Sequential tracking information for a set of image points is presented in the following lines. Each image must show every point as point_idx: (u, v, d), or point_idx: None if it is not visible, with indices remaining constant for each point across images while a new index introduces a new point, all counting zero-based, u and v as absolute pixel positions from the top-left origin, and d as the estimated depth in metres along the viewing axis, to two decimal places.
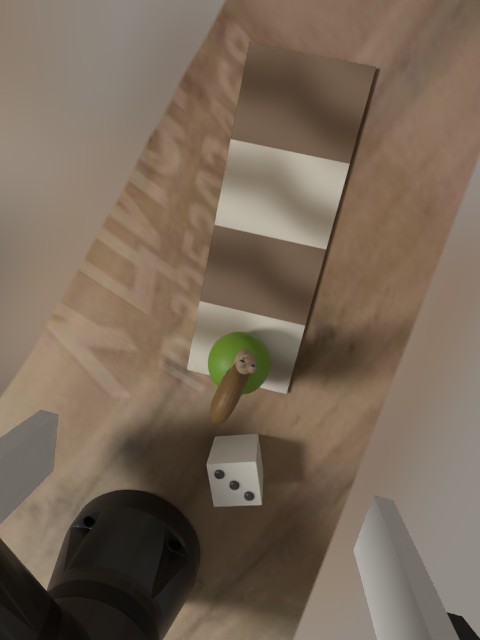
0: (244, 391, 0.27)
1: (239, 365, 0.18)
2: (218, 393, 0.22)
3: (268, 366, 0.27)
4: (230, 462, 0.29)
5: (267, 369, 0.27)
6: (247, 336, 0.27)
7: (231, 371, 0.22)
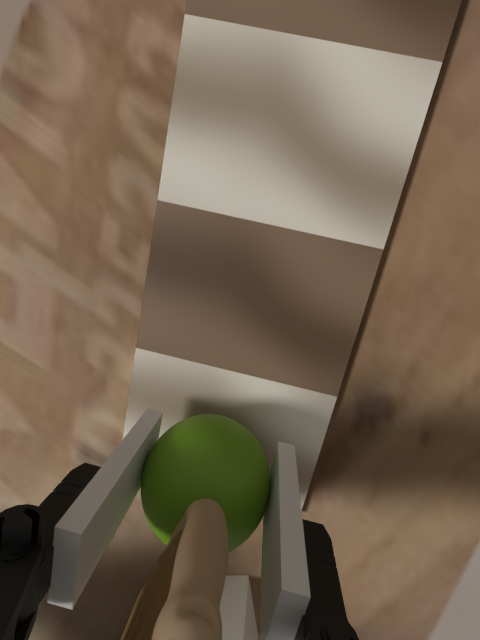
0: None
1: None
2: None
3: (266, 497, 0.13)
4: None
5: (264, 505, 0.13)
6: (221, 434, 0.13)
7: (158, 599, 0.08)
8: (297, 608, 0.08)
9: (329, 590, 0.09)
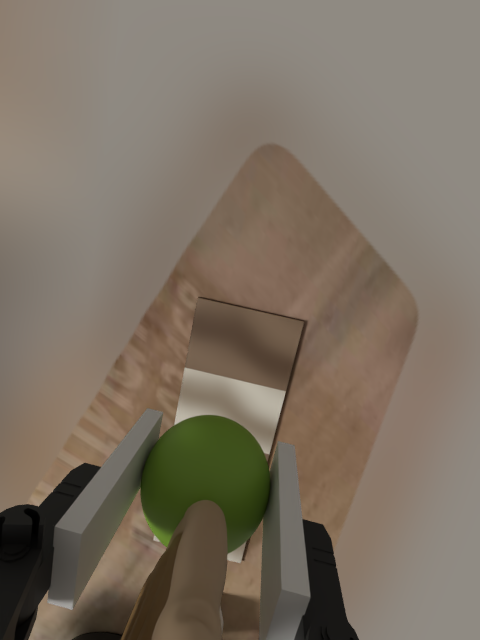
0: None
1: None
2: None
3: (266, 498, 0.13)
4: None
5: (264, 506, 0.13)
6: (221, 435, 0.13)
7: (157, 602, 0.08)
8: (297, 608, 0.08)
9: (329, 590, 0.09)
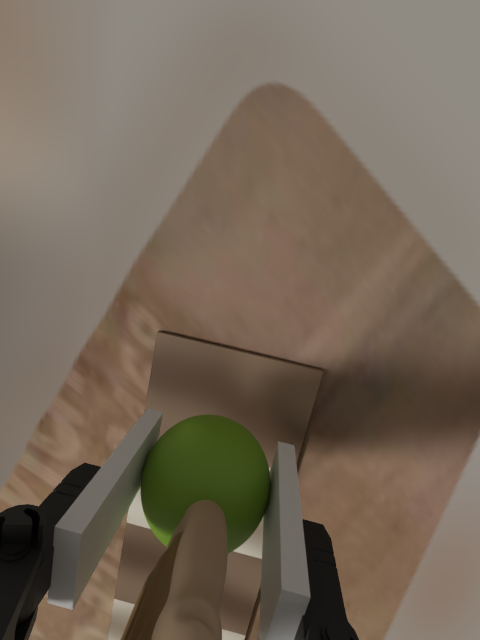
0: None
1: None
2: None
3: (266, 498, 0.13)
4: None
5: (264, 506, 0.13)
6: (221, 435, 0.13)
7: (157, 601, 0.08)
8: (297, 608, 0.08)
9: (329, 590, 0.09)
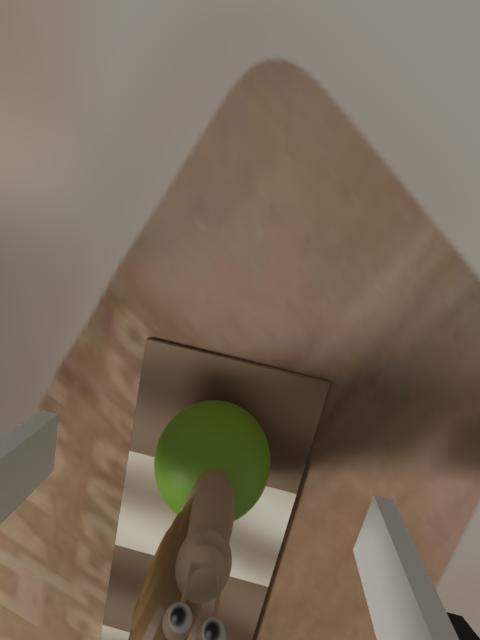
0: None
1: (167, 636, 0.06)
2: (142, 607, 0.09)
3: (266, 472, 0.14)
4: None
5: (265, 479, 0.14)
6: (226, 416, 0.14)
7: (176, 545, 0.09)
8: None
9: None
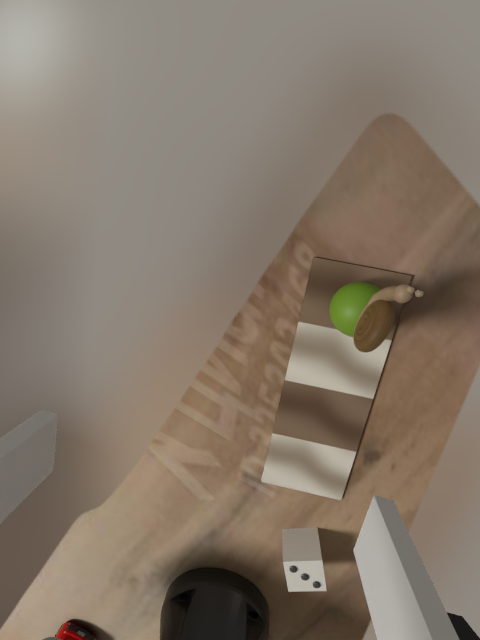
0: None
1: (409, 290, 0.22)
2: (371, 324, 0.25)
3: None
4: (301, 559, 0.38)
5: None
6: (369, 284, 0.30)
7: (379, 305, 0.25)
8: None
9: None
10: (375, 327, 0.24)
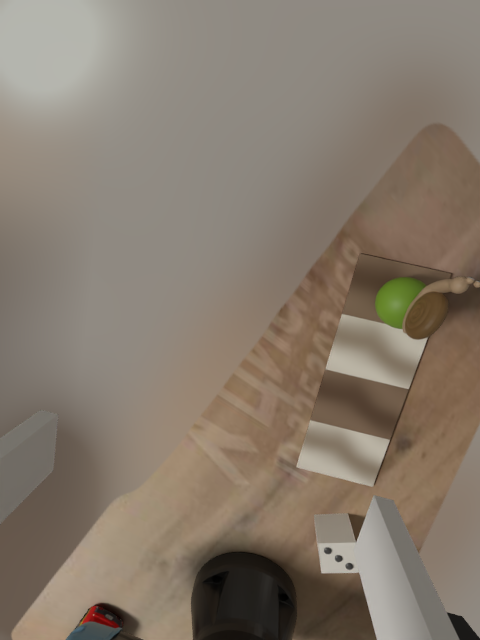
0: None
1: (470, 280, 0.24)
2: (426, 312, 0.27)
3: None
4: (336, 541, 0.39)
5: None
6: (415, 279, 0.33)
7: (434, 296, 0.28)
8: None
9: None
10: (431, 315, 0.27)
